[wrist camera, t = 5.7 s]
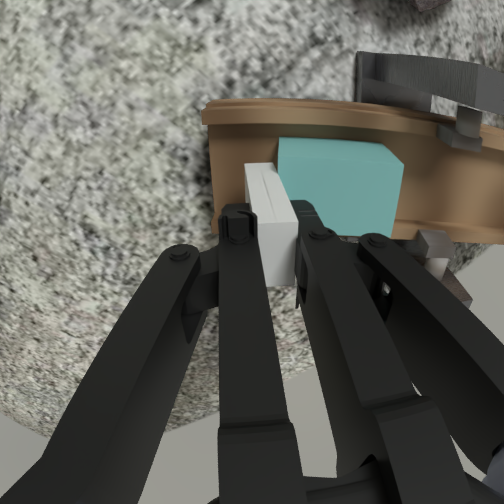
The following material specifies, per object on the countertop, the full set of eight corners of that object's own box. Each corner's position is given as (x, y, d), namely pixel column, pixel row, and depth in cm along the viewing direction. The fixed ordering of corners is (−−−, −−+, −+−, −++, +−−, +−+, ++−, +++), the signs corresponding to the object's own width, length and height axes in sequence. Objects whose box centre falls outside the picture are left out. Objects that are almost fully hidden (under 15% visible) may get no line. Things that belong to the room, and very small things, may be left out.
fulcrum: (343, 235, 27) (399, 336, 17) (356, 51, 18) (461, 58, 9) (403, 231, 27) (472, 320, 17) (426, 63, 19) (540, 89, 9)
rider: (278, 199, 20) (276, 232, 16) (279, 136, 17) (278, 156, 14) (373, 204, 19) (390, 237, 16) (381, 143, 17) (404, 164, 14)
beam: (222, 227, 24) (205, 276, 19) (212, 81, 18) (185, 90, 13) (533, 241, 21) (565, 279, 16) (562, 135, 15) (606, 160, 10)
